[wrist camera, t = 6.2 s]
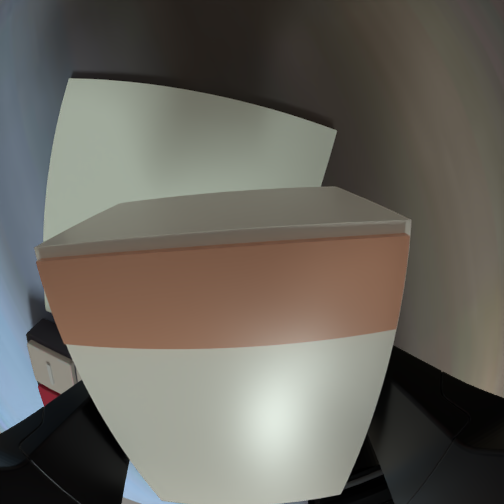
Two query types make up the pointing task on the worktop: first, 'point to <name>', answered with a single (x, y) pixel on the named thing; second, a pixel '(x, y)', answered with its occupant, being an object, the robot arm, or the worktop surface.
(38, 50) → the worktop surface
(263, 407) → the card box
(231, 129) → the mat
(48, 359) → the calculator
